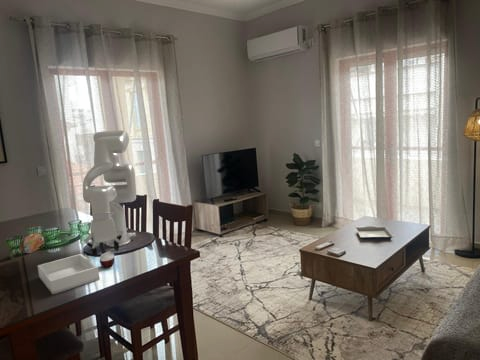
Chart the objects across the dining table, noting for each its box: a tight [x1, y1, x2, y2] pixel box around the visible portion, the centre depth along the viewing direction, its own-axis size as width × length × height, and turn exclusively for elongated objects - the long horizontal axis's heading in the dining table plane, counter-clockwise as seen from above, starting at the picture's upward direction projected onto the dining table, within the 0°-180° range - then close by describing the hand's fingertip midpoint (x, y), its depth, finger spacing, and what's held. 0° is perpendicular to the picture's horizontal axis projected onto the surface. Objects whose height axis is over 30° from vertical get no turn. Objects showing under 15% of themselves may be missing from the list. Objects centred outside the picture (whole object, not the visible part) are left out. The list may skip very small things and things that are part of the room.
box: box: [37, 253, 100, 295], centre depth 151 cm, size 18×22×6 cm
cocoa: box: [98, 242, 115, 269], centre depth 162 cm, size 10×6×12 cm, turn 25°
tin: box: [19, 232, 46, 254], centre depth 189 cm, size 15×3×8 cm, turn 168°
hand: (106, 253), depth 162 cm, fingers open, 9 cm apart
